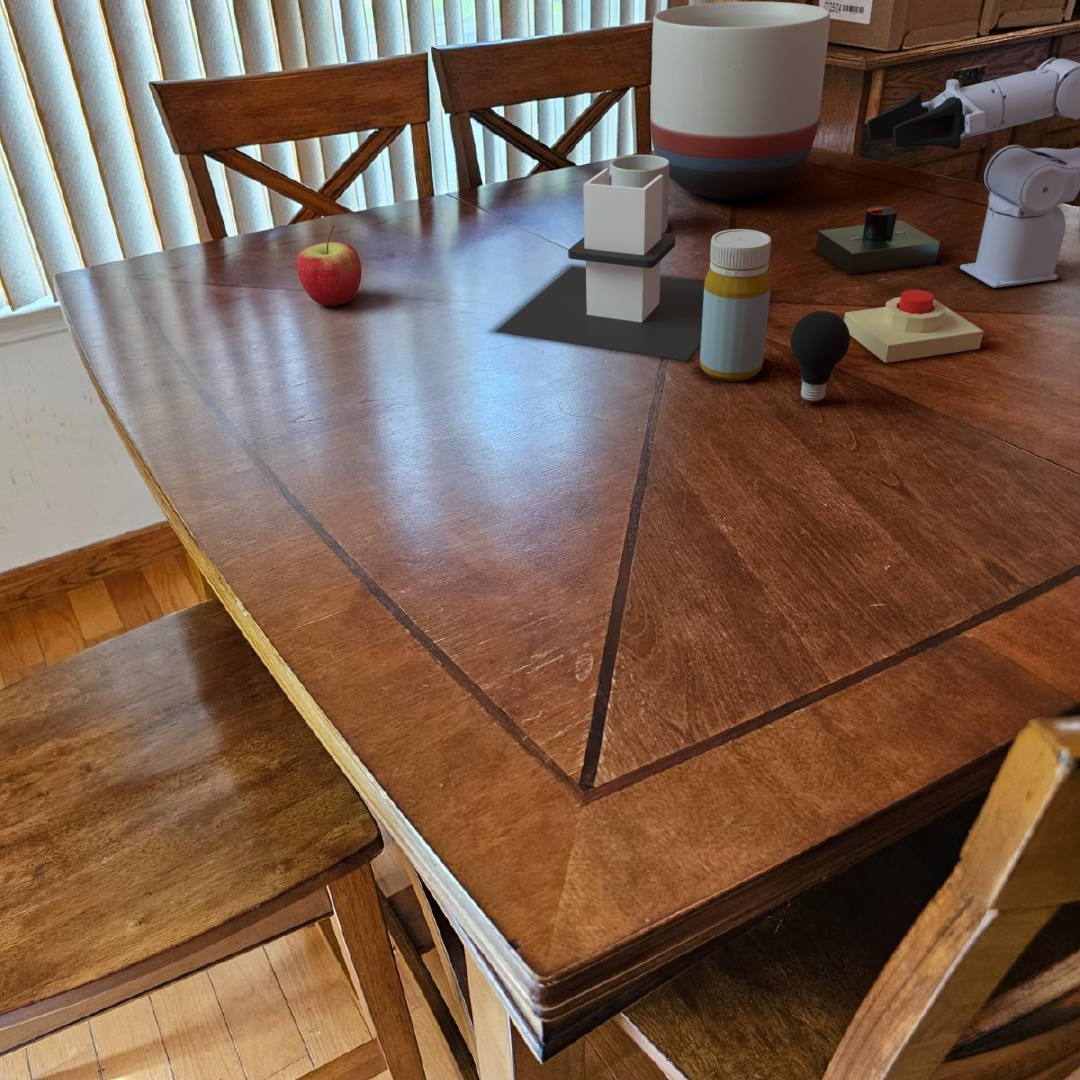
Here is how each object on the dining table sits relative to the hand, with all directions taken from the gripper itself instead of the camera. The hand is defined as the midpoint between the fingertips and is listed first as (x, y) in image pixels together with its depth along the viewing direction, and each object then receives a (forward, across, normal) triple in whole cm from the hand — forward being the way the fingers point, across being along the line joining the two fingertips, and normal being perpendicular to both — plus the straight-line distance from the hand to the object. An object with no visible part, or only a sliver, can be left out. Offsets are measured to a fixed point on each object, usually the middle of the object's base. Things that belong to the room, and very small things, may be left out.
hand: (880, 133), depth 119 cm
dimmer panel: (-4, -13, +19) cm, 23 cm away
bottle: (+26, +18, +18) cm, 36 cm away
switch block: (+3, +14, +21) cm, 25 cm away
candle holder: (+34, -2, +14) cm, 37 cm away
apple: (+71, -12, +7) cm, 72 cm away
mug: (+27, -33, +12) cm, 44 cm away
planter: (+7, -47, +13) cm, 50 cm away
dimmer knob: (-4, -13, +16) cm, 21 cm away
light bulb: (+20, +27, +20) cm, 39 cm away
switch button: (+3, +14, +17) cm, 23 cm away
